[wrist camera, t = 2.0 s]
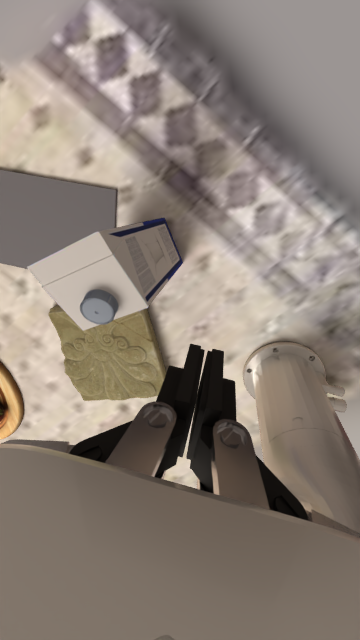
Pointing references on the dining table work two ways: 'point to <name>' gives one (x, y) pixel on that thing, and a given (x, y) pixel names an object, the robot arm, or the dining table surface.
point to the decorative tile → (111, 356)
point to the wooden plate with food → (9, 404)
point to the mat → (48, 215)
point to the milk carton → (110, 272)
